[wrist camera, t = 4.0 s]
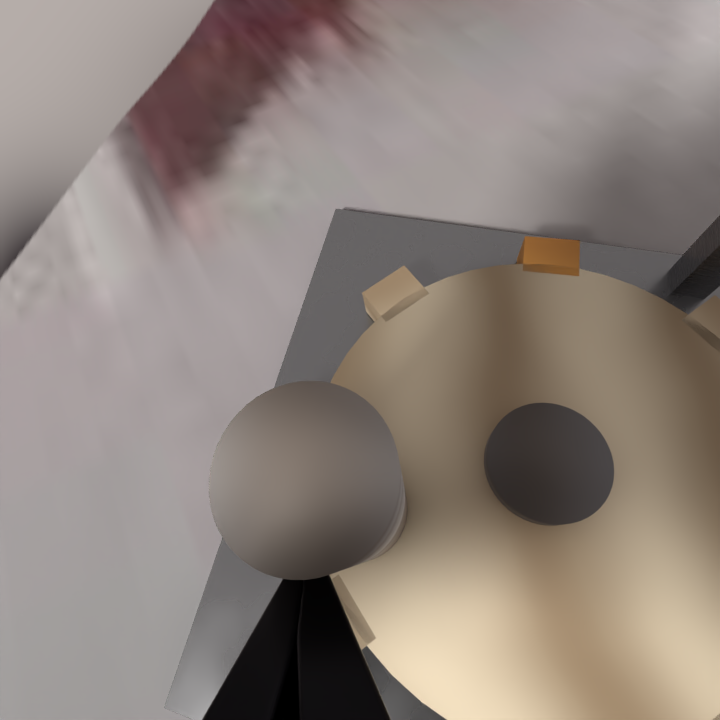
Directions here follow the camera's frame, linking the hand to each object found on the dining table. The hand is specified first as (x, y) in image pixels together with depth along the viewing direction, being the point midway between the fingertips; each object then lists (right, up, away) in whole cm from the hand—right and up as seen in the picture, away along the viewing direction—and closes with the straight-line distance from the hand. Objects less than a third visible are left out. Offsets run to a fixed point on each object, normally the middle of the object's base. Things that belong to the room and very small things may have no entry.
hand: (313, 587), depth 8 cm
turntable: (+7, 0, +7) cm, 10 cm away
